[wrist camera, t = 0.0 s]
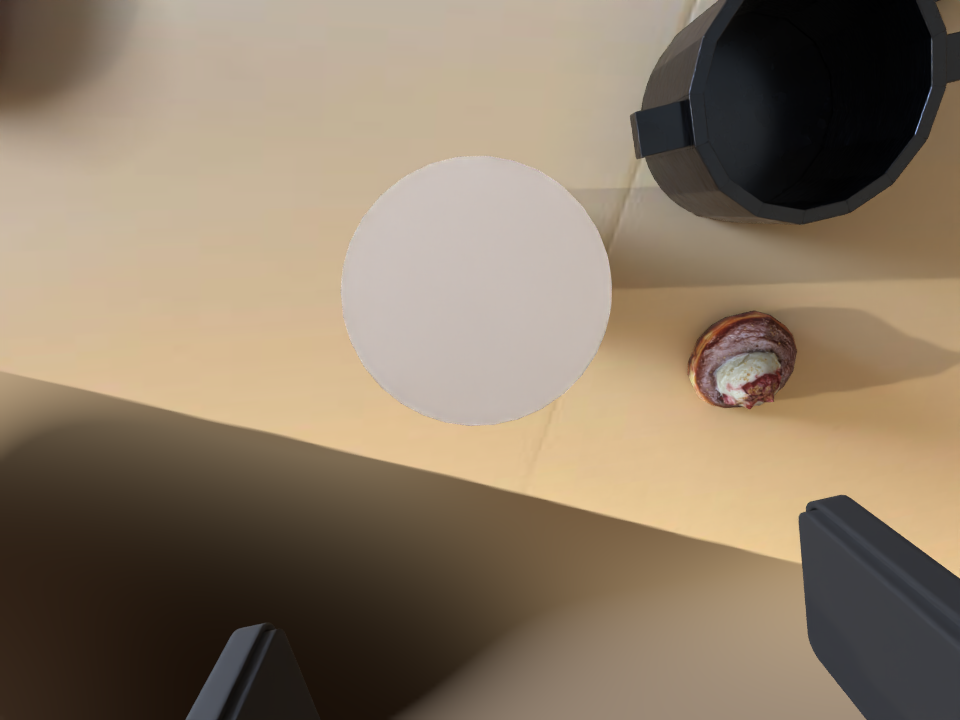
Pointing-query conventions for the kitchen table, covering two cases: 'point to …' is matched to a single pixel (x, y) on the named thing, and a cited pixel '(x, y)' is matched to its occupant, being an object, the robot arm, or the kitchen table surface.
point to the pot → (793, 105)
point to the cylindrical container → (476, 290)
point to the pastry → (742, 360)
